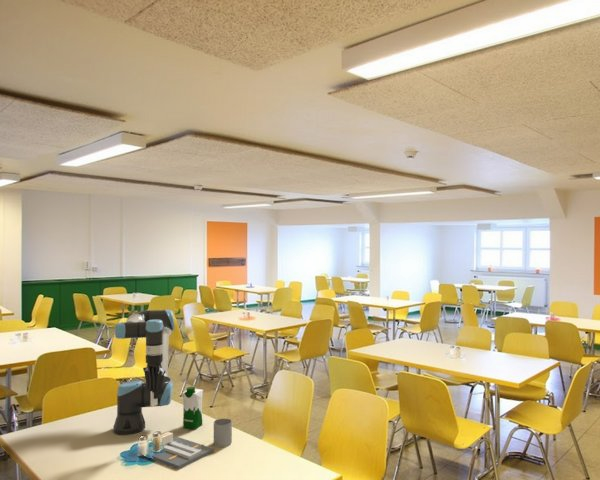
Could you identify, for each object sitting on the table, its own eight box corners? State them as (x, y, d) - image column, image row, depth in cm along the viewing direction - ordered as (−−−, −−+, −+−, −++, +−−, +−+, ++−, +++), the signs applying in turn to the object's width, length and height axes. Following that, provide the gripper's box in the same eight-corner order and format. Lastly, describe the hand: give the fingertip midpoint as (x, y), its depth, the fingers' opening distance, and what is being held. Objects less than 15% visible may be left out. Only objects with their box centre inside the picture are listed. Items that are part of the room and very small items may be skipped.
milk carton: (180, 428, 235) (180, 388, 235) (190, 422, 243) (190, 383, 244) (195, 430, 232) (195, 390, 232) (205, 424, 240) (205, 385, 241)
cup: (227, 448, 212) (227, 425, 212) (210, 446, 213) (210, 424, 214) (234, 440, 220) (234, 419, 220) (217, 439, 222) (217, 417, 222)
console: (141, 455, 204) (141, 449, 204) (176, 439, 221) (176, 434, 221) (178, 469, 191) (178, 462, 191) (213, 451, 208) (213, 445, 208)
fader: (157, 447, 209) (157, 435, 209) (168, 442, 214) (168, 431, 214) (162, 448, 207) (162, 437, 207) (173, 443, 212) (173, 432, 212)
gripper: (138, 353, 216) (138, 405, 216) (157, 357, 209) (156, 410, 208) (151, 350, 222) (151, 400, 222) (170, 354, 215) (170, 405, 215)
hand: (154, 405), depth 215 cm, fingers closed
